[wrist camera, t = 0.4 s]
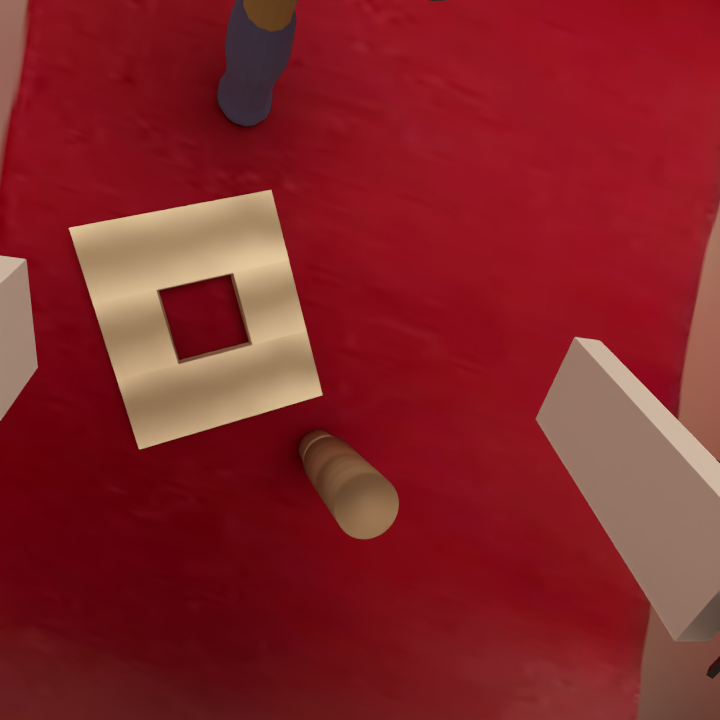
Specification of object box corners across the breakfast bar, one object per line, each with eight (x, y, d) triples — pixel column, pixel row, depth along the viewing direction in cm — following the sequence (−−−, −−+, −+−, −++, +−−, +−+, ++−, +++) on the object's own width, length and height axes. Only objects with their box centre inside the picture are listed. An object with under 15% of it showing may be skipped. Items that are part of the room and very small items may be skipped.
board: (314, 389, 46) (322, 395, 43) (142, 439, 42) (138, 449, 39) (265, 197, 43) (271, 189, 40) (77, 233, 39) (68, 228, 36)
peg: (344, 462, 47) (404, 525, 34) (300, 477, 46) (344, 548, 33) (333, 419, 46) (390, 466, 33) (288, 433, 45) (329, 487, 32)
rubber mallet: (329, 82, 43) (590, -339, 15) (312, 175, 44) (536, -62, 15) (166, 27, 40) (99, -681, 11) (149, 130, 40) (42, -299, 11)
